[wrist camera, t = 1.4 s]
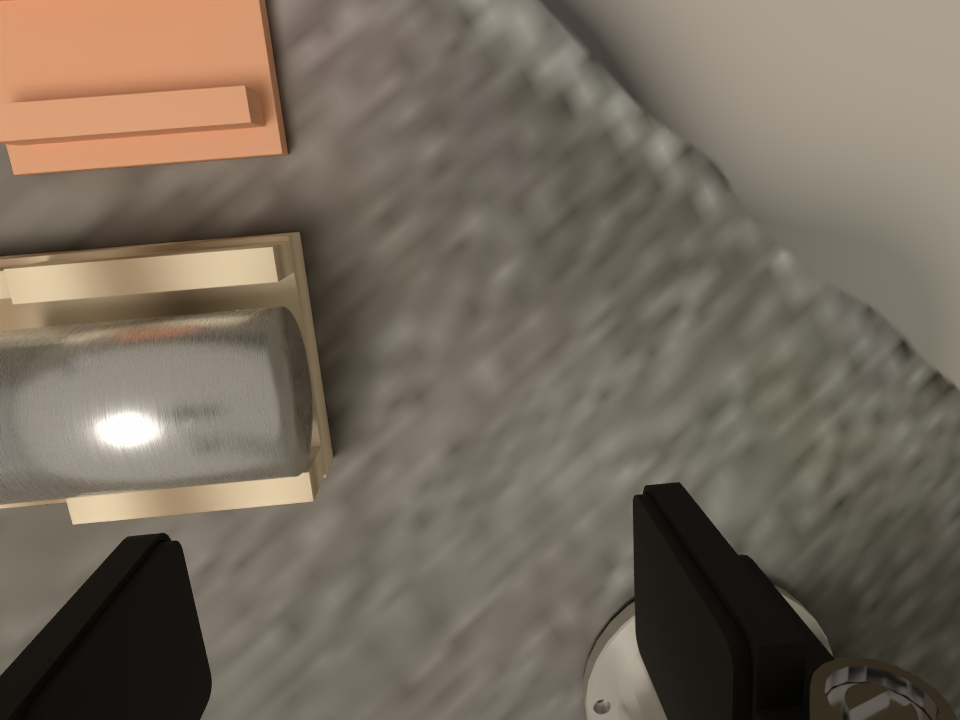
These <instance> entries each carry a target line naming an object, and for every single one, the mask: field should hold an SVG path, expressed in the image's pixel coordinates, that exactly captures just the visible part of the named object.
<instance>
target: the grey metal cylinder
mask: <svg viewBox="0 0 960 720" xmlns="http://www.w3.org/2000/svg"><path fill="white" fill-rule="evenodd" d="M312 421H313V410H312V390H311V380H310V372H309V366H308V360H307V355H306V350H305V346H304V342H303V338H302V335H301V332H300V329H299V326H298V324H297V322H296V320H295V318H294V316H293V314H292V313H291V312H290V310H289V309H287V308H286V307H283V306H281V307H270V308H258V309H247V310H235V311H223V312H212V313H200V314H189V315H177V316H165V317H154V318H142V319H131V320H119V321H107V322H96V323H84V324H73V325H61V326H49V327H38V328H26V329H15V330H3V331H0V505H3V504H14V503H24V502H35V501H45V500H56V499H66V498H77V497H87V496H98V495H108V494H119V493H129V492H140V491H150V490H161V489H171V488H182V487H192V486H203V485H214V484H224V483H235V482H245V481H256V480H266V479H277V478H287V477H296V476H299V475H300V474H302V472H303V471H304V469H305V467H306V464H307V461H308V457H309V453H310V447H311V439H312Z"/></svg>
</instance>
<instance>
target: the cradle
mask: <svg viewBox="0 0 960 720" xmlns="http://www.w3.org/2000/svg"><path fill="white" fill-rule="evenodd" d="M0 144H6V146H7V150H8V153H9V157H10V161H11V165H12V169H13V173H14V175H38V174H51V173H64V172H76V171H89V170H102V169H115V168H127V167H140V166H153V165H166V164H178V163H191V162H204V161H217V160H229V159H242V158H255V157H268V156H281V155H288V150H287V143H286V137H285V130H284V123H283V116H282V110H281V103H280V96H279V90H278V83H277V76H276V70H275V63H274V56H273V49H272V43H271V36H270V29H269V23H268V16H267V9H266V3H265V0H0Z"/></svg>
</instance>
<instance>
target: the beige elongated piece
mask: <svg viewBox="0 0 960 720" xmlns="http://www.w3.org/2000/svg"><path fill="white" fill-rule="evenodd" d="M281 306H283V307H286V308H287V309H289V310H290V312H291V313H292V314H293V316H294V318H295V320H296V322H297V324H298V326H299V329H300V332H301V335H302V338H303V342H304V346H305V350H306V355H307V360H308V366H309V372H310V380H311V390H312V410H313V421H312V439H311V447H310V453H309V457H308V461H307V464H306V467H305V469H304V471H303V472H302V474H300V475H299V476H296V477H287V478H277V479H266V480H256V481H245V482H235V483H224V484H214V485H203V486H192V487H182V488H171V489H161V490H150V491H140V492H129V493H119V494H108V495H98V496H87V497H77V498H66V499H56V500H45V501H35V502H24V503H14V504H3V505H0V508H10V507H20V506H31V505H41V504H52V503H62V502H67V504H68V508H69V512H70V515H71V519H72V523H73V524H83V523H93V522H104V521H114V520H124V519H135V518H145V517H155V516H166V515H176V514H187V513H197V512H207V511H218V510H228V509H238V508H249V507H259V506H270V505H280V504H290V503H301V502H311V501H314V499H315V496H316V494H317V491H318V489H319V487H320V484H321V482H322V479H323V478H325V477H326V475H327V473H328V470H329V468H330V465H331V463H332V460H333V451H332V445H331V438H330V431H329V425H328V418H327V411H326V405H325V398H324V391H323V384H322V378H321V371H320V364H319V358H318V351H317V344H316V338H315V331H314V324H313V317H312V311H311V304H310V297H309V291H308V284H307V277H306V271H305V264H304V257H303V250H302V244H301V237H300V232H292V233H280V234H268V235H256V236H244V237H231V238H219V239H207V240H195V241H183V242H171V243H159V244H146V245H134V246H122V247H110V248H98V249H86V250H74V251H62V252H49V253H37V254H25V255H13V256H1V257H0V331H3V330H15V329H26V328H38V327H49V326H61V325H73V324H84V323H96V322H107V321H119V320H131V319H142V318H154V317H165V316H177V315H189V314H200V313H212V312H223V311H235V310H247V309H258V308H270V307H281Z"/></svg>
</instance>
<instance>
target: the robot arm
mask: <svg viewBox="0 0 960 720" xmlns="http://www.w3.org/2000/svg"><path fill="white" fill-rule="evenodd" d="M633 536H634V589H635V601H634V602H633V603H631V604H630V605H628V606H627V607H626V608H625V609H624V610H623V611H622V612H621V613H620V614H619V615H617V616H616V617H615V618H614V619H613V620H612V621H611V622H610V623H609V625H608V626H607V628H606V629H605V630H604V632H603V633H602V634H601V636H600V637H599V638H598V640H597V641H596V644H595V646H594V648H593V650H592V652H591V654H590V656H589V658H588V661H587V665H586V669H585V673H584V678H583V704H584V708H585V713H586V717H587V720H958V719H957V717H956V715H955V713H954V710H953V708H952V706H951V705H950V704H949V703H948V701H947V700H946V699H945V698H944V697H943V696H942V695H941V694H940V693H939V692H938V691H937V690H936V689H935V688H933V687H932V686H931V685H929V684H928V683H927V682H925V681H924V680H922V679H921V678H920V677H918V676H916V675H914V674H912V673H910V672H908V671H906V670H904V669H902V668H900V667H897V666H894V665H891V664H888V663H884V662H881V661H878V660H873V659H865V658H857V657H851V658H838V659H834V657H833V654H832V651H831V648H830V645H829V642H828V639H827V637H826V635H825V634H824V632H823V630H822V629H821V627H820V626H819V624H818V623H817V621H816V620H815V619H814V617H813V616H812V615H811V614H810V613H809V612H808V611H807V609H806V608H805V607H804V606H803V605H802V604H801V603H800V602H799V601H798V600H796V599H795V598H794V597H793V596H791V595H790V594H789V593H787V592H786V591H785V590H783V589H781V588H779V587H777V586H775V585H773V584H772V583H771V581H770V580H769V579H768V578H767V576H766V575H765V574H764V573H763V572H762V570H761V569H760V568H759V567H758V566H757V564H756V563H755V562H754V561H753V560H752V559H751V558H750V557H749V556H747V555H737V553H736V552H735V551H734V550H733V548H732V547H731V546H730V545H729V543H728V542H727V541H726V540H725V538H724V537H723V536H722V535H721V533H720V532H719V531H718V530H717V528H716V527H715V526H714V524H713V523H712V522H711V521H710V519H709V518H708V517H707V516H706V514H705V513H704V512H703V511H702V509H701V508H700V507H699V506H698V504H697V503H696V502H695V501H694V499H693V498H692V497H691V496H690V494H689V493H688V492H687V491H686V489H685V488H684V487H683V486H682V485H681V484H680V483H679V482H676V483H666V484H656V485H646V486H645V487H644V491H643V494H642V495H635V496H634V498H633ZM211 686H212V679H211V672H210V668H209V664H208V659H207V655H206V650H205V646H204V642H203V637H202V633H201V628H200V624H199V620H198V615H197V611H196V606H195V602H194V598H193V593H192V589H191V584H190V580H189V575H188V571H187V567H186V562H185V558H184V553H183V549H182V546H181V544H180V543H179V542H178V541H171V539H170V538H169V536H168V535H167V534H165V533H159V534H148V535H138V536H129V537H127V538H125V539H124V540H123V541H122V542H121V543H120V544H119V545H118V546H117V548H116V549H115V550H114V551H113V552H112V553H111V554H110V555H109V556H108V557H107V559H106V560H105V561H104V562H103V563H102V564H101V565H100V566H99V567H98V569H97V570H96V571H95V572H94V573H93V574H92V575H91V576H90V577H89V579H88V580H87V581H86V582H85V583H84V584H83V585H82V586H81V587H80V588H79V590H78V591H77V592H76V593H75V594H74V595H73V596H72V597H71V598H70V600H69V601H68V602H67V603H66V604H65V605H64V606H63V607H62V608H61V609H60V611H59V612H58V613H57V614H56V615H55V616H54V617H53V618H52V619H51V621H50V622H49V623H48V624H47V625H46V626H45V627H44V628H43V629H42V630H41V632H40V633H39V634H38V635H37V636H36V637H35V638H34V639H33V640H32V642H31V643H30V644H29V645H28V646H27V647H26V648H25V649H24V650H23V651H22V653H21V654H20V655H19V656H18V657H17V658H16V659H15V660H14V661H13V663H12V664H11V665H10V666H9V667H8V668H7V669H6V670H5V671H4V673H3V674H2V675H1V676H0V720H200V719H201V716H202V714H203V712H204V710H205V708H206V706H207V703H208V701H209V698H210V694H211Z"/></svg>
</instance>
